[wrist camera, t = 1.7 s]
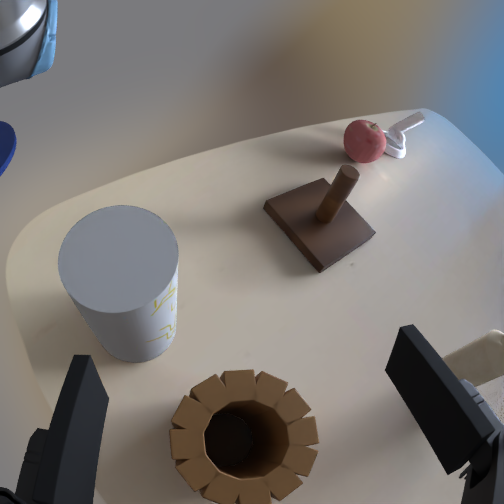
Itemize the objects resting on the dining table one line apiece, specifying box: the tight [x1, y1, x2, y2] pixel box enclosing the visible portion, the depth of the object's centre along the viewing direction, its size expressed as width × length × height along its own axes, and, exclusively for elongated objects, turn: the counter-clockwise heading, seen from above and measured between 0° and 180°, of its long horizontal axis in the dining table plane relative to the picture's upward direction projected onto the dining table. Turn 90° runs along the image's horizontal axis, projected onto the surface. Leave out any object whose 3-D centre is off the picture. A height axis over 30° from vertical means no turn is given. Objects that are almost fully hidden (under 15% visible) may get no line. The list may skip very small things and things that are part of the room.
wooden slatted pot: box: [169, 369, 319, 504], centre depth 20 cm, size 9×9×10 cm
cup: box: [58, 205, 178, 363], centre depth 24 cm, size 8×8×12 cm
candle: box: [442, 330, 504, 387], centre depth 28 cm, size 6×6×10 cm
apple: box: [344, 120, 386, 163], centre depth 49 cm, size 7×7×8 cm
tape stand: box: [263, 165, 376, 273], centre depth 37 cm, size 11×11×10 cm
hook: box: [383, 112, 425, 158], centre depth 57 cm, size 8×12×7 cm
